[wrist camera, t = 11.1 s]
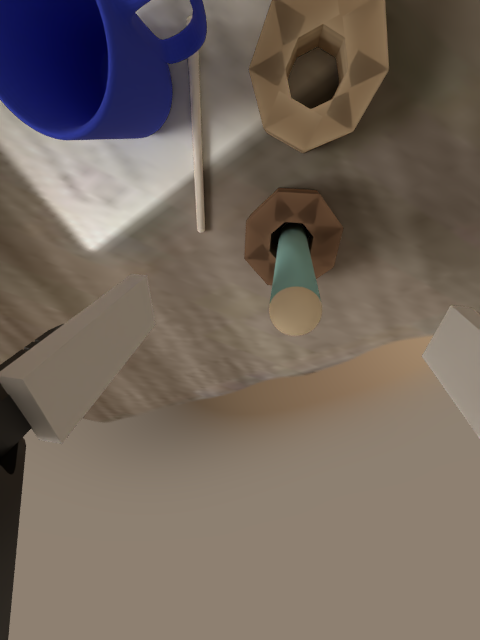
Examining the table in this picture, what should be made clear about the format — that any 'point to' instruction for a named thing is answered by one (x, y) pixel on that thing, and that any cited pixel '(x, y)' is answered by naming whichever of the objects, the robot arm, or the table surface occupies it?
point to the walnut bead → (297, 210)
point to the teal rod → (294, 284)
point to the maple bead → (336, 39)
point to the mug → (89, 66)
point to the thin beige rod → (196, 135)
